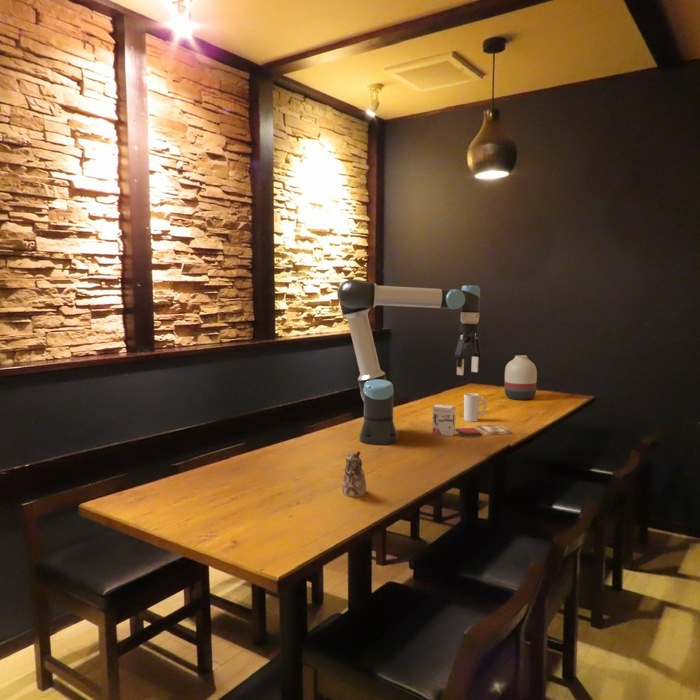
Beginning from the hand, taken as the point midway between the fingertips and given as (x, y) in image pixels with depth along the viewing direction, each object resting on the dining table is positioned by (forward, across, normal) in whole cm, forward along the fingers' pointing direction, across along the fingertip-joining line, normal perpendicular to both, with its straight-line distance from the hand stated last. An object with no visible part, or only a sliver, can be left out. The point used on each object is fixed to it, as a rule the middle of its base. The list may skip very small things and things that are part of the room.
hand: (467, 373), depth 250 cm
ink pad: (+24, -3, -3) cm, 25 cm away
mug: (+24, +22, +6) cm, 33 cm away
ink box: (+25, -10, +4) cm, 28 cm away
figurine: (+26, -91, -9) cm, 95 cm away
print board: (+24, +8, -10) cm, 27 cm away
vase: (+24, +90, +11) cm, 93 cm away
